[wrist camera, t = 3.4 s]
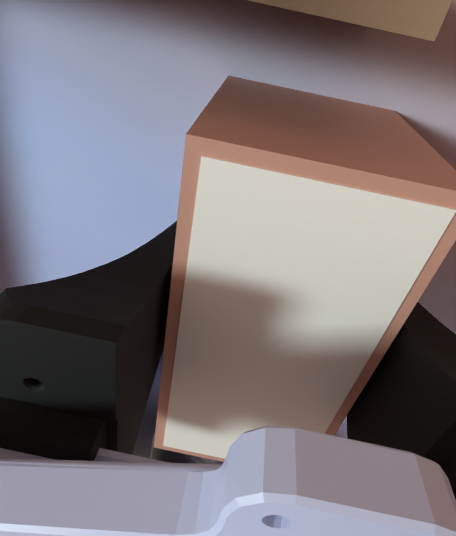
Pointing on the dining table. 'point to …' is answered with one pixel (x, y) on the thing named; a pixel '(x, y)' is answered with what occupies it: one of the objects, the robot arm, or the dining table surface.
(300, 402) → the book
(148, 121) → the dining table surface
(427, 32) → the shelf
